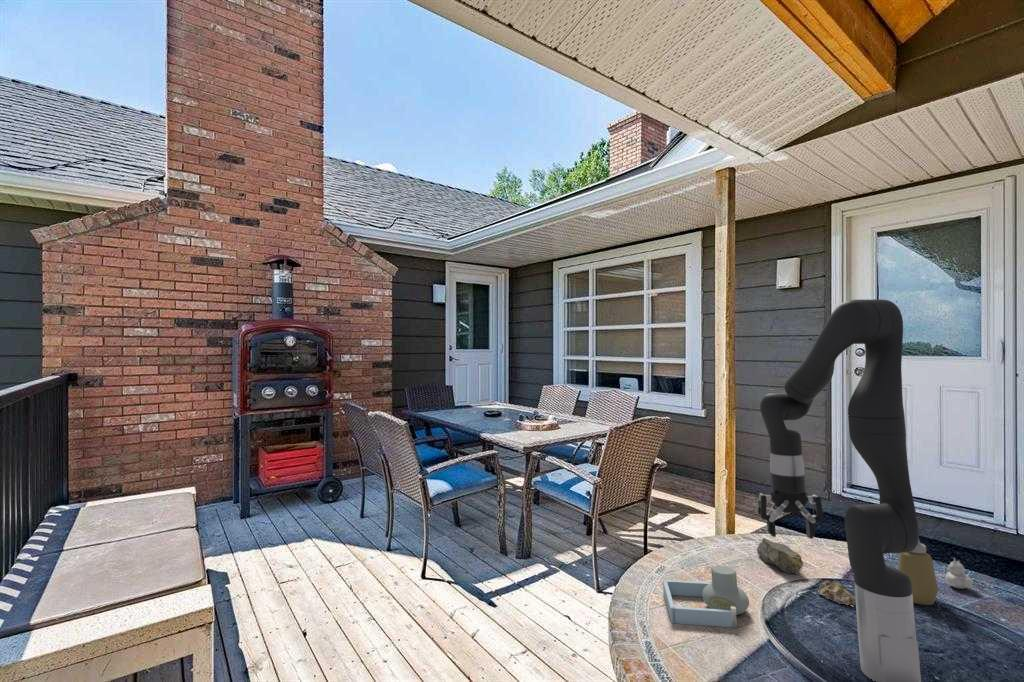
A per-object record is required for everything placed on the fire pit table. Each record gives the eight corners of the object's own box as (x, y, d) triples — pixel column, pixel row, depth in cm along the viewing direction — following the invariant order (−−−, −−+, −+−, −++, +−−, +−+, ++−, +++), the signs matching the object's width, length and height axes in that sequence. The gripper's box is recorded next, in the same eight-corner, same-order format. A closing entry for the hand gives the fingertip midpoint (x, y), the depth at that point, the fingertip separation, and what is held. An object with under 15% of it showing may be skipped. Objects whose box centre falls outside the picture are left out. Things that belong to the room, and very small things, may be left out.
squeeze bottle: (898, 590, 128) (893, 523, 130) (938, 598, 123) (932, 528, 125) (898, 602, 122) (893, 531, 123) (940, 611, 117) (934, 537, 118)
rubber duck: (957, 582, 132) (954, 553, 133) (982, 593, 126) (979, 562, 126) (939, 583, 132) (936, 554, 132) (963, 594, 125) (960, 563, 126)
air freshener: (751, 608, 121) (749, 568, 122) (746, 623, 114) (744, 580, 115) (707, 598, 127) (704, 560, 128) (699, 611, 120) (697, 571, 121)
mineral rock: (807, 581, 131) (834, 572, 131) (812, 596, 131) (838, 587, 131) (835, 601, 120) (864, 591, 120) (840, 618, 120) (869, 608, 120)
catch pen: (737, 627, 112) (736, 608, 113) (671, 622, 115) (670, 604, 115) (720, 596, 128) (720, 579, 128) (663, 592, 131) (662, 576, 131)
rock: (816, 559, 140) (788, 553, 138) (812, 582, 139) (783, 576, 138) (774, 537, 157) (748, 532, 155) (770, 558, 156) (744, 552, 154)
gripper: (761, 474, 118) (765, 540, 116) (824, 475, 115) (829, 543, 114) (752, 468, 125) (756, 530, 124) (811, 468, 122) (816, 532, 121)
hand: (791, 536), depth 119 cm, fingers open, 8 cm apart
